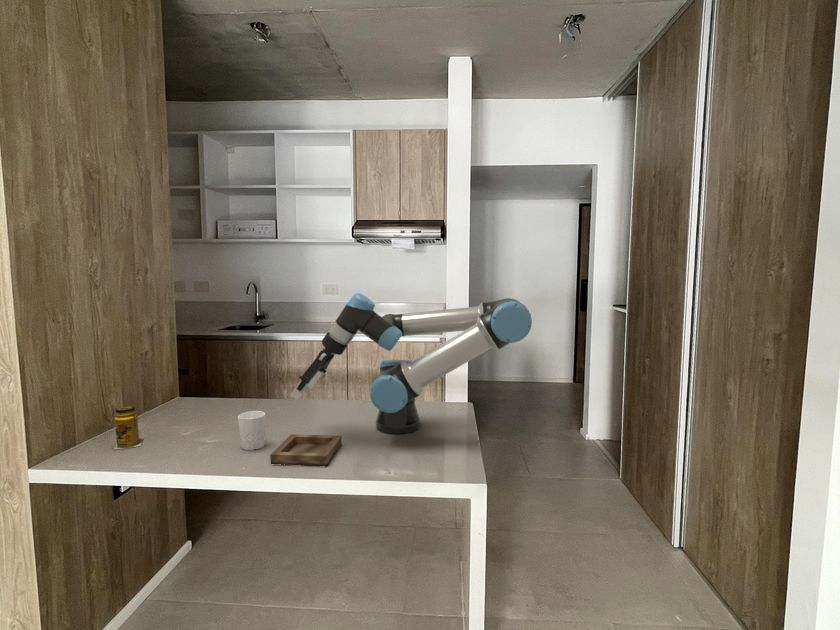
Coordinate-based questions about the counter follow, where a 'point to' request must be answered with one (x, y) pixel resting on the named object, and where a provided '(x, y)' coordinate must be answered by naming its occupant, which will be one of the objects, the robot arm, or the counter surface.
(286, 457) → the wooden tray
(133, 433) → the condiment
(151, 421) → the counter surface
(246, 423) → the white cup
